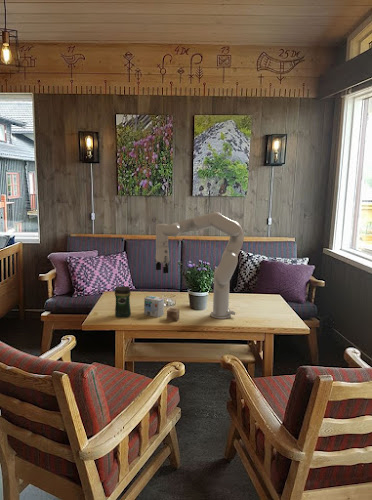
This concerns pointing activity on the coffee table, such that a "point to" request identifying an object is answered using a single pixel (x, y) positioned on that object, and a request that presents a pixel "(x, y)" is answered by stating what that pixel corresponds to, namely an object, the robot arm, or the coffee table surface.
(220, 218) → the robot arm
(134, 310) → the coffee table surface
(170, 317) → the walnut cube
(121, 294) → the coffee jar
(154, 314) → the light bulb box
